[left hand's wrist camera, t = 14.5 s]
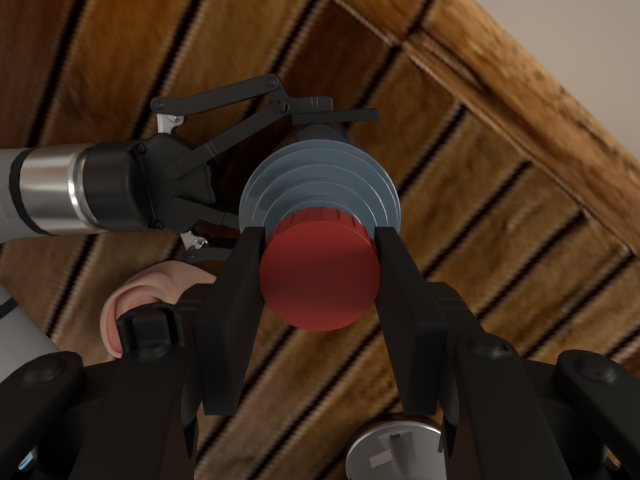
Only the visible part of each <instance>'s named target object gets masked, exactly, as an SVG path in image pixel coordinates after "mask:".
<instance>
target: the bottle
mask: <svg viewBox="0 0 640 480" xmlns="http://www.w3.org/2000/svg"><path fill="white" fill-rule="evenodd" d="M322 206H325V207H329V208H334V209H341V211H343V212H346V213H347V214H349V215H351V216H355V219H356V220H358V221H359V222H360V223H361V224H362V225H363V226H365V227H366V229H367V232H368V234H369V235H370V237H371V239H372V238H373V240H374V227H394V228H395V230H396V231H397V233H398V235H399V231H400V224H401V208H400V202H399V197H398V194H397V191H396V188H395V186H394V184H393V182H392V180H391V178H390V177H389V175H388V174H387V172H386V171H385V170H384V168H383V167H382V166H381V165H380V164H379V163H378V162H377V161H376V160H375V158H374V157H373V156H372V155H371V154H370V153H369V152H368V151H367V149H366V148H365V147H364V146H363V145H362V144H361V143H360V142H359V141H358V139H357V138H356V137H355V136H354V135H353V134H352V133H351V132H350V131H349V129H347V128H346V127H345V126H344V125H342V124H340V123H338V122H336V123H321V124H306V125H296V126H295V127H294V128H292V129H291V130H290V131H289V132H288V133H287V135H286V136H285V137H284V138H283V139H282V140H281V141H280V142H279V143H278V145H277V146H276V147H275V148H274V149H273V150H272V151H271V152H270V153H269V155H268V156H267V157H266V158H265V159H264V160H263V161H262V162H261V163H260V165H259V166H258V167H257V168H256V169H255V171H254V172H253V173H252V175H251V176H250V178H249V180H248V181H247V183H246V185H245V188H244V190H243V193H242V196H241V200H240V205H239V228H240V232H241V234H242V232H243V231H244V229H245V227H265V234H266V241H267V238H268V236H269V233H270V232H271V233H272V231H273V230H274V228H275V227H276V226H277V225H278V222H279V221H282V220H283V219H284V218H286V217H287V216H289V215H290V214H291V212H296V211H299V210H301V209H305V208H306V207H309V208H310V207H322Z"/></svg>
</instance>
